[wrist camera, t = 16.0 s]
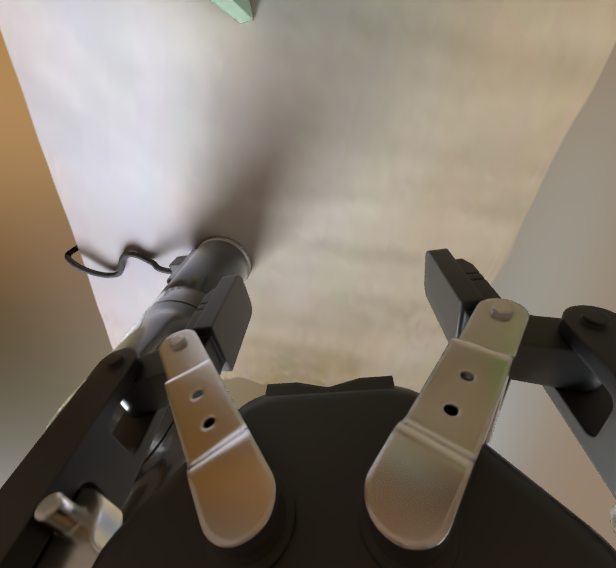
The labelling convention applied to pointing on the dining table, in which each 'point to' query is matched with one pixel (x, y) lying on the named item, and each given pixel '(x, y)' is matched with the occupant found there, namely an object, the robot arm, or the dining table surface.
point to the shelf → (236, 9)
